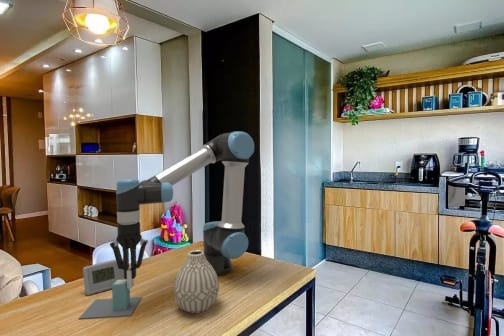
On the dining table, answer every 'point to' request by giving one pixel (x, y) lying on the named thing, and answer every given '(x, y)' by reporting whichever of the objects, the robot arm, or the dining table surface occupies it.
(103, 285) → the digital clock
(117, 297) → the block
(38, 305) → the dining table surface
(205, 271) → the vase
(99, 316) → the mat
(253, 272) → the dining table surface
